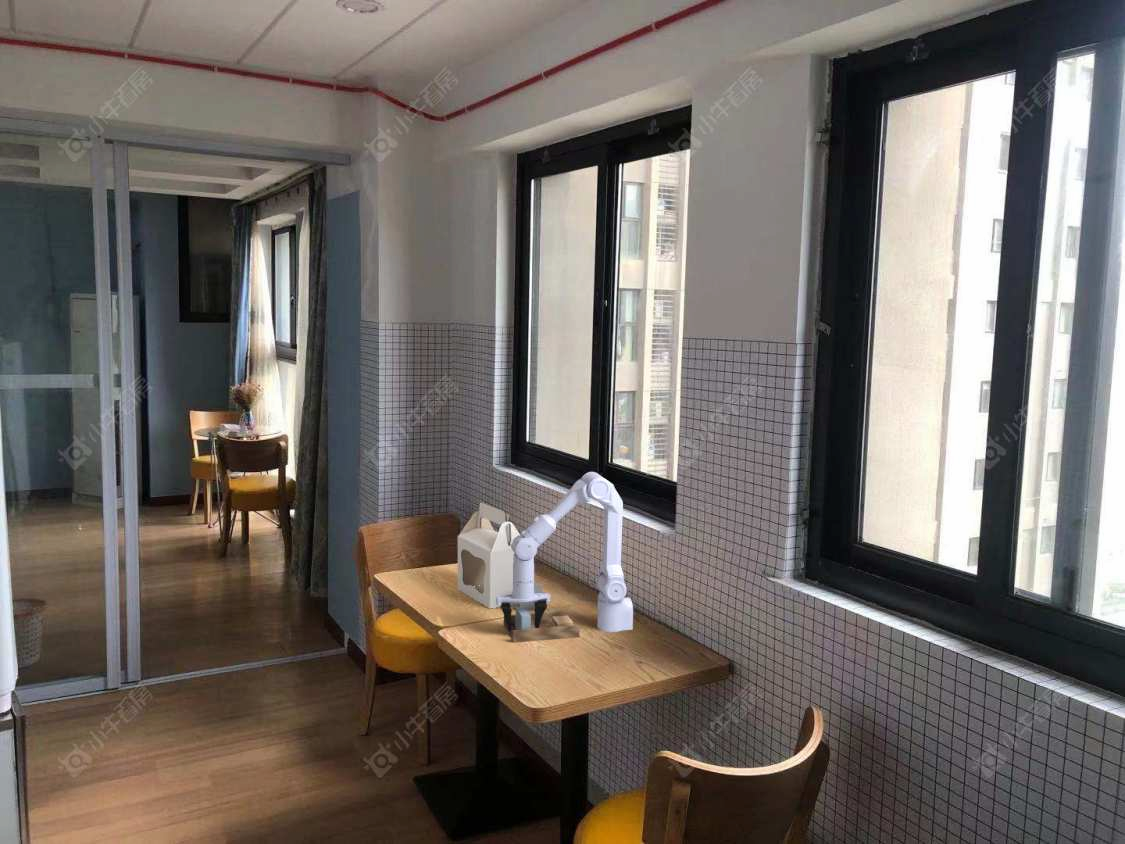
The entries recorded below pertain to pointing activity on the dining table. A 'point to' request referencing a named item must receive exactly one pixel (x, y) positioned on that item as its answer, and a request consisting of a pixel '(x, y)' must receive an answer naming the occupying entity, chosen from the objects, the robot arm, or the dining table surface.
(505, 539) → the gable box
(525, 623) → the block
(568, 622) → the offcut top
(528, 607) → the ceramic mug
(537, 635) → the rack
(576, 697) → the dining table surface
